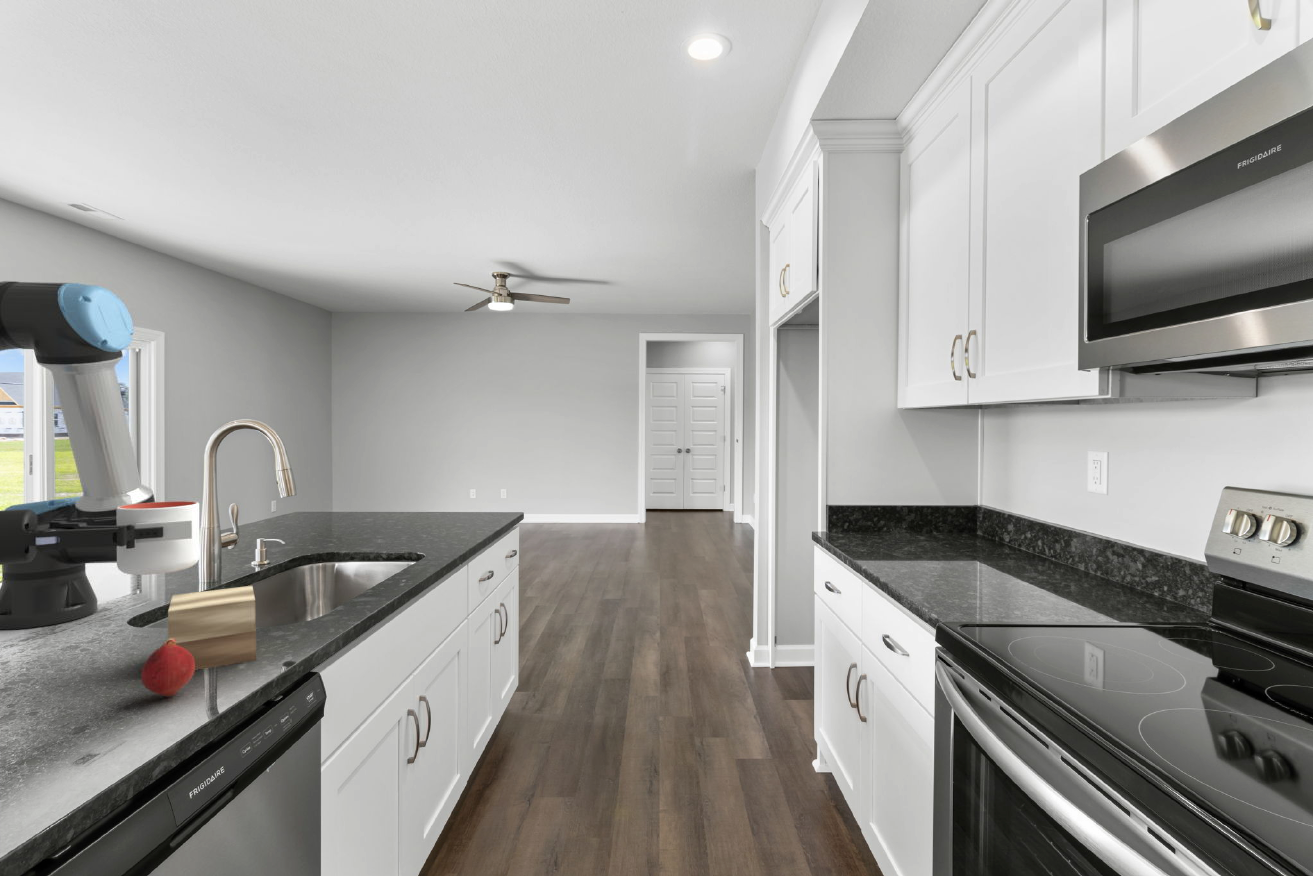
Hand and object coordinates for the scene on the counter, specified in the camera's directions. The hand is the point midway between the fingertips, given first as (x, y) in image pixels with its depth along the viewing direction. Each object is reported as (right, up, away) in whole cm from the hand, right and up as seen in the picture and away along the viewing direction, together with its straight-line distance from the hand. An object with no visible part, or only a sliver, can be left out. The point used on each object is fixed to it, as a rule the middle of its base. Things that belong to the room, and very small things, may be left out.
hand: (194, 524), depth 98 cm
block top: (+1, -17, +3) cm, 17 cm away
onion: (+6, -22, -12) cm, 26 cm away
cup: (-4, -7, -2) cm, 8 cm away
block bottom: (+1, -22, +3) cm, 22 cm away
